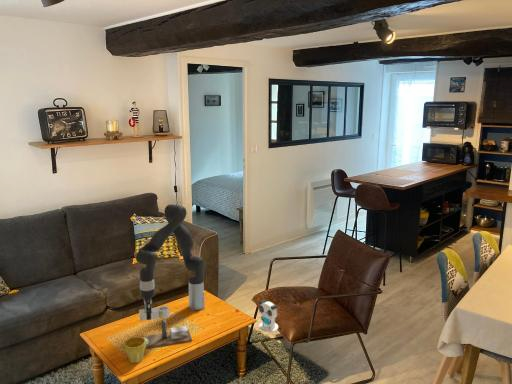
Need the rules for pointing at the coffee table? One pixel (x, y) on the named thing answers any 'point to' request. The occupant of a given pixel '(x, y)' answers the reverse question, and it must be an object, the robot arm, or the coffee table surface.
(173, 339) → the hinge base
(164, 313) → the hinge leaf
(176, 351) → the coffee table surface
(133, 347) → the plant pot
